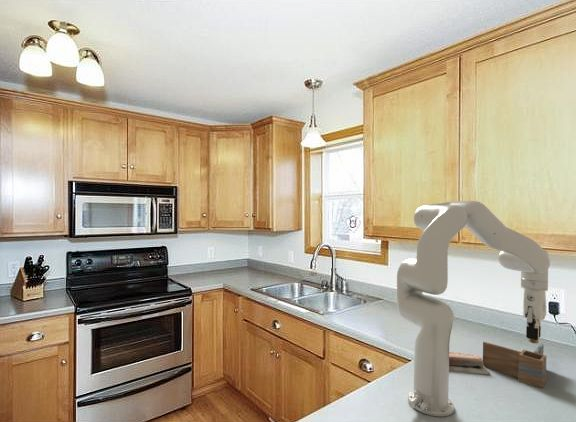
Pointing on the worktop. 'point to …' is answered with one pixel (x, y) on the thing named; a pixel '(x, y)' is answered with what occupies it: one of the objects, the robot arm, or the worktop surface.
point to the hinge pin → (538, 330)
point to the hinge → (517, 363)
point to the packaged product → (466, 363)
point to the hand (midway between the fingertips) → (533, 337)
